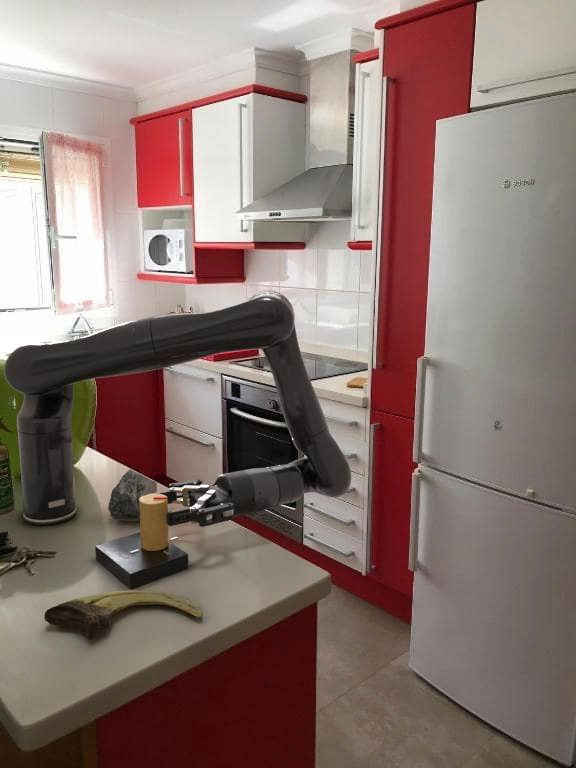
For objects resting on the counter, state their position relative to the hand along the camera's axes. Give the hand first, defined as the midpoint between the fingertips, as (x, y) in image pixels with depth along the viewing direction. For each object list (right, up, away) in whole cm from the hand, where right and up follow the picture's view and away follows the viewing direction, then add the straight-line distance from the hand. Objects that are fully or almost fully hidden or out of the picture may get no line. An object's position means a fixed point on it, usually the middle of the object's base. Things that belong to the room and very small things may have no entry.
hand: (157, 509), depth 102 cm
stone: (-8, -5, +18) cm, 20 cm away
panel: (-3, -9, 0) cm, 9 cm away
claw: (-1, -12, -15) cm, 19 cm away
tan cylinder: (-1, -6, +1) cm, 6 cm away
